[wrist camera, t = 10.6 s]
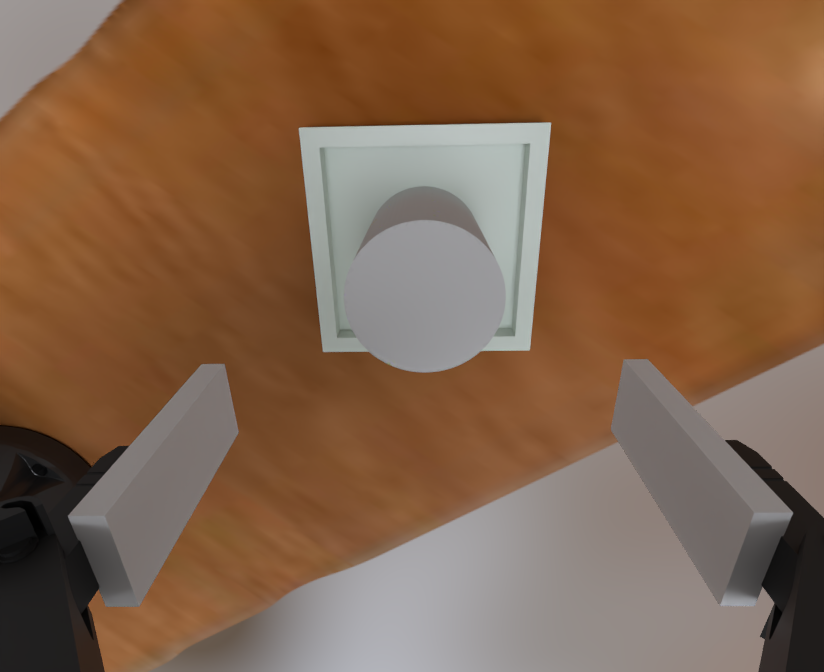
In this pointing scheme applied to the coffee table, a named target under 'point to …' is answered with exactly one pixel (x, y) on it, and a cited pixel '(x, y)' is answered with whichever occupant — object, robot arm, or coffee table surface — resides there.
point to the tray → (435, 167)
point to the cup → (424, 283)
